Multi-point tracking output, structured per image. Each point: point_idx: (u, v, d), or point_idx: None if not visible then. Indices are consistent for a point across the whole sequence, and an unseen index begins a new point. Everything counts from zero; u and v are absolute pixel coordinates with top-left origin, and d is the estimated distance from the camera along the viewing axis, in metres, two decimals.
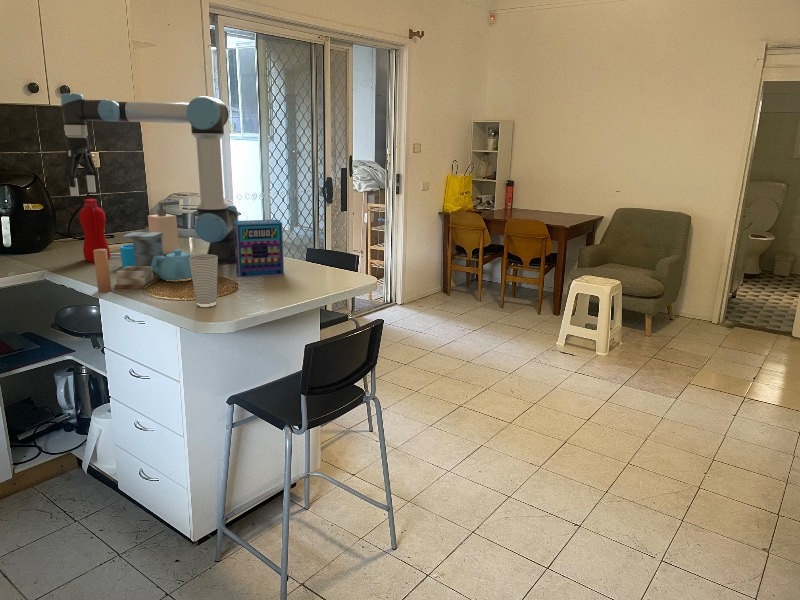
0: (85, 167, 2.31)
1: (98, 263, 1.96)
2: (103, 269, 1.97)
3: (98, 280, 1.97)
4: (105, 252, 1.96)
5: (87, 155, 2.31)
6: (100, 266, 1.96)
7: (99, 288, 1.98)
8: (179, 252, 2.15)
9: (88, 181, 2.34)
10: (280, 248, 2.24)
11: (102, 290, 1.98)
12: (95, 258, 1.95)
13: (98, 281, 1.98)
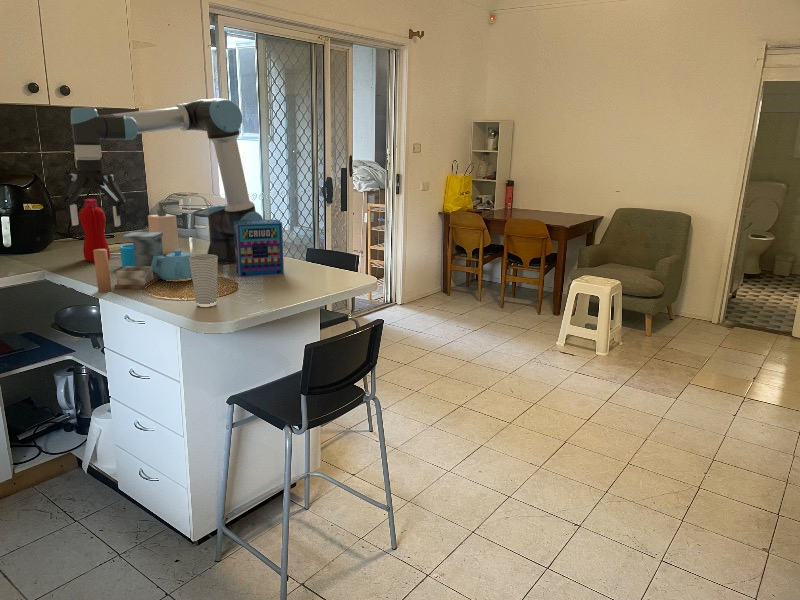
0: None
1: (98, 263, 1.96)
2: (103, 269, 1.97)
3: (98, 280, 1.97)
4: (105, 252, 1.96)
5: (108, 181, 1.90)
6: (100, 266, 1.96)
7: (99, 288, 1.98)
8: (179, 252, 2.15)
9: None
10: (280, 248, 2.24)
11: (102, 290, 1.98)
12: (95, 258, 1.95)
13: (98, 281, 1.98)
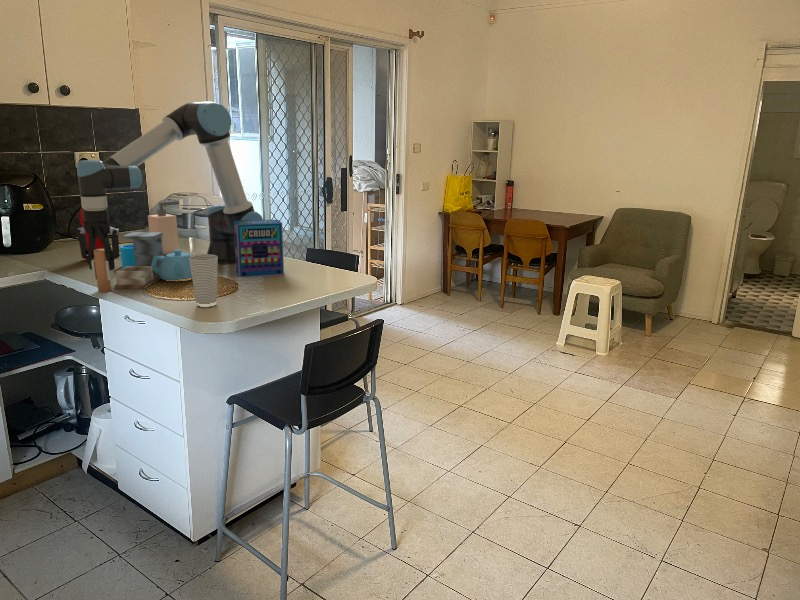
0: None
1: (98, 263, 1.96)
2: (103, 268, 1.97)
3: (98, 280, 1.97)
4: None
5: (112, 234, 1.95)
6: (100, 266, 1.96)
7: (99, 288, 1.98)
8: (179, 252, 2.15)
9: None
10: (280, 248, 2.24)
11: (102, 290, 1.98)
12: (95, 258, 1.95)
13: (98, 281, 1.98)
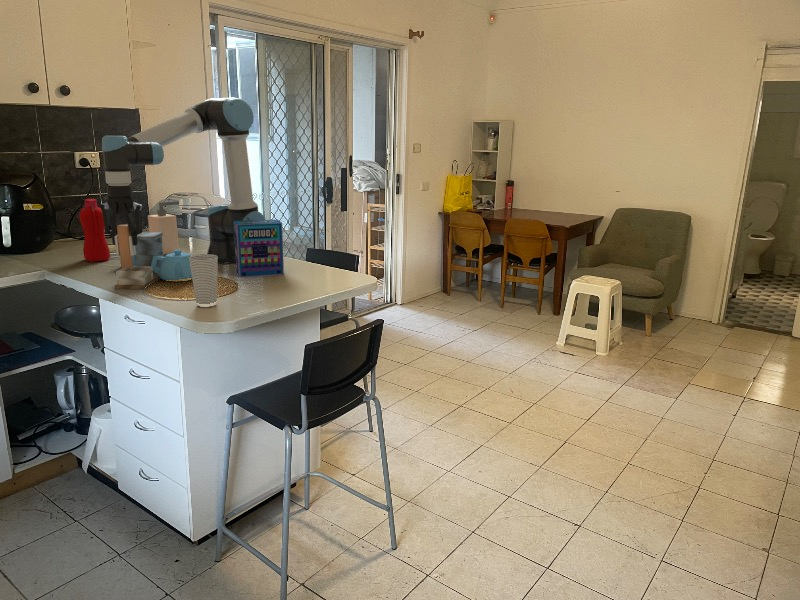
0: None
1: (121, 238, 1.97)
2: (127, 244, 1.98)
3: (121, 255, 1.99)
4: (128, 227, 1.98)
5: None
6: (124, 241, 1.97)
7: (122, 263, 2.00)
8: (179, 252, 2.15)
9: None
10: (280, 248, 2.24)
11: (125, 265, 2.00)
12: (118, 233, 1.97)
13: (121, 256, 1.99)
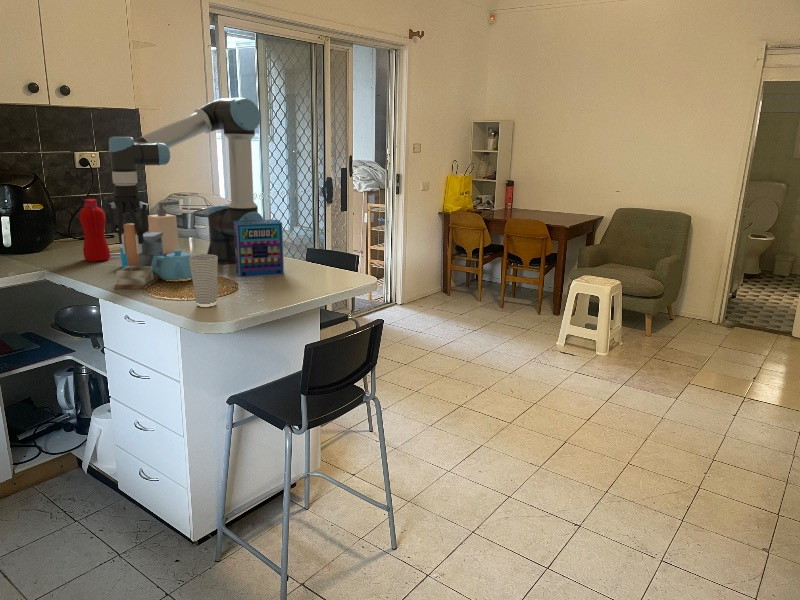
0: None
1: (128, 237, 2.02)
2: (133, 242, 2.03)
3: (128, 253, 2.04)
4: None
5: None
6: (130, 239, 2.02)
7: (129, 261, 2.04)
8: (179, 252, 2.15)
9: None
10: (280, 248, 2.24)
11: (131, 263, 2.04)
12: (125, 232, 2.02)
13: (128, 254, 2.04)
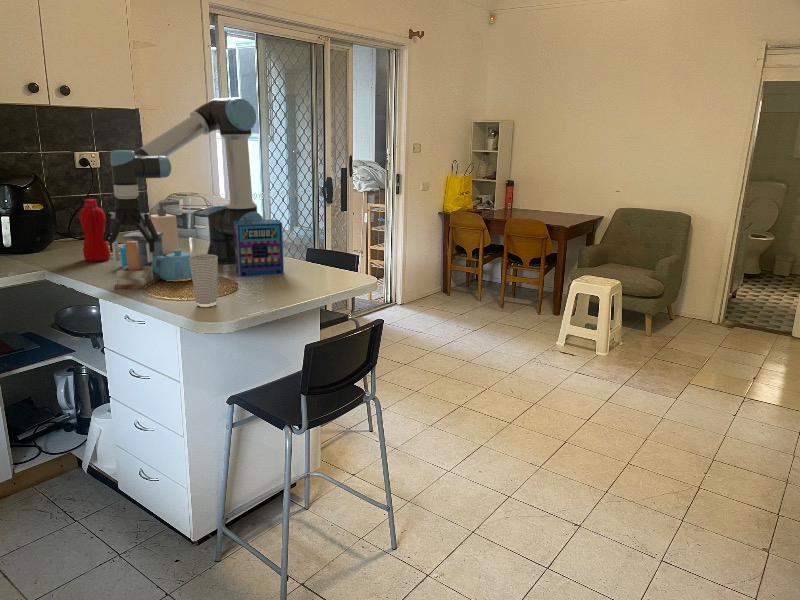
0: None
1: (129, 254, 2.04)
2: (135, 260, 2.05)
3: None
4: (136, 244, 2.04)
5: (145, 219, 2.02)
6: (132, 257, 2.04)
7: None
8: (179, 252, 2.15)
9: None
10: (280, 248, 2.24)
11: None
12: (127, 250, 2.04)
13: None
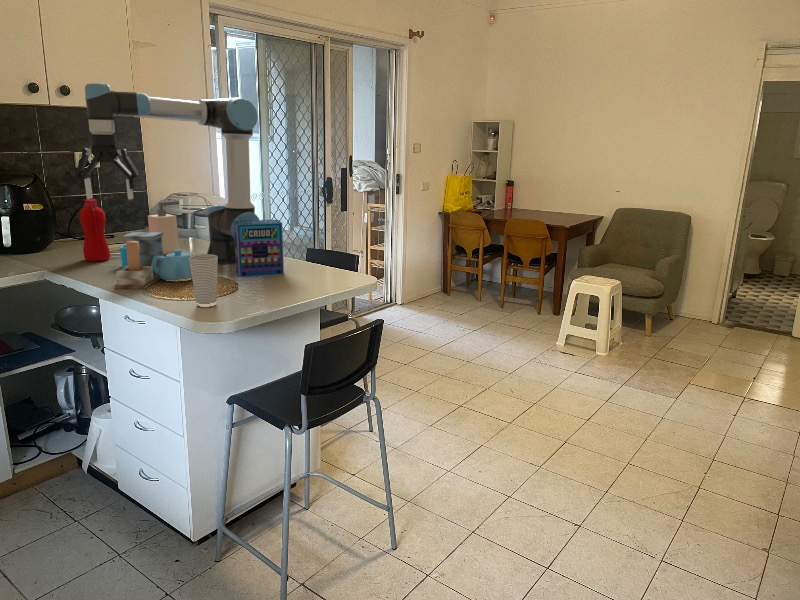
0: None
1: (130, 254, 2.04)
2: (135, 260, 2.05)
3: None
4: (137, 244, 2.05)
5: (122, 155, 1.97)
6: (132, 257, 2.04)
7: None
8: (179, 252, 2.15)
9: None
10: (280, 248, 2.24)
11: None
12: (127, 249, 2.04)
13: None
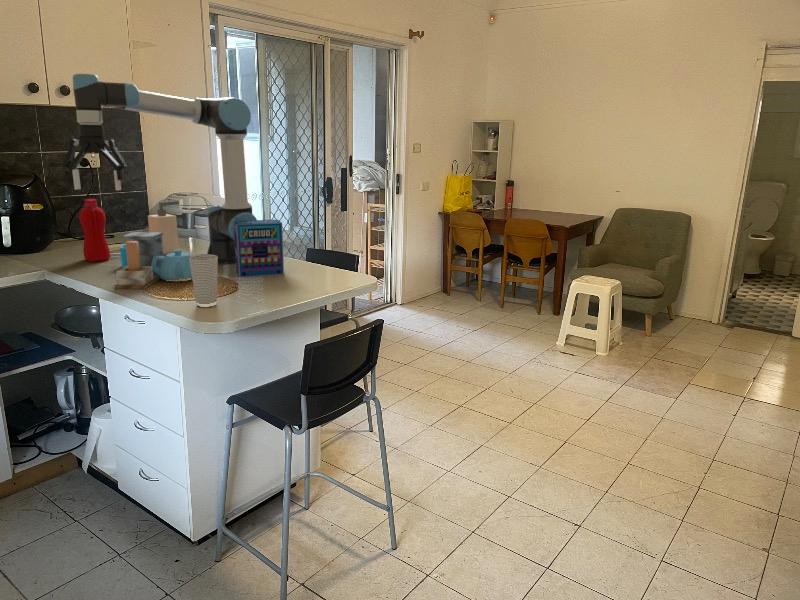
0: None
1: (130, 254, 2.04)
2: (135, 260, 2.05)
3: None
4: (137, 244, 2.04)
5: (109, 146, 1.97)
6: (132, 257, 2.04)
7: None
8: (179, 252, 2.15)
9: None
10: (280, 248, 2.24)
11: None
12: (127, 250, 2.04)
13: None
